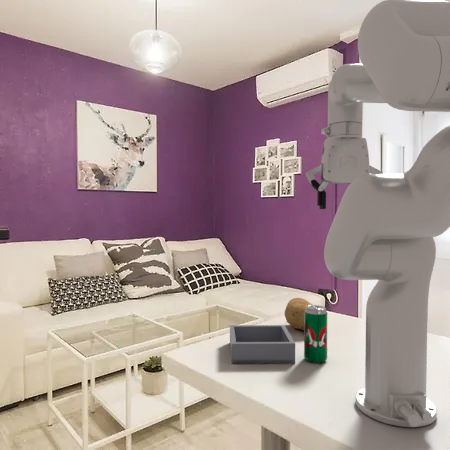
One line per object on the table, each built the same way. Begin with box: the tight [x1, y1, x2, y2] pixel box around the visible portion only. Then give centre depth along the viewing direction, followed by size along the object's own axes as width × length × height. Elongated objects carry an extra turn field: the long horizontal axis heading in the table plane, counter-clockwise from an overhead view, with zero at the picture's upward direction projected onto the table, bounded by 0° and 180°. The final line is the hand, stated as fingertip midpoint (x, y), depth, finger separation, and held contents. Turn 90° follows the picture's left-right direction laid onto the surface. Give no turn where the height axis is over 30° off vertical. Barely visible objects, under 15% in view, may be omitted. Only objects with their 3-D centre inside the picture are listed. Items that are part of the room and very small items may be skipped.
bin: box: [229, 324, 296, 365], centre depth 93 cm, size 14×14×4 cm
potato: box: [284, 297, 313, 331], centre depth 112 cm, size 10×14×8 cm
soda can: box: [303, 304, 328, 364], centre depth 88 cm, size 5×5×12 cm
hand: (343, 209), depth 89 cm, fingers open, 9 cm apart
